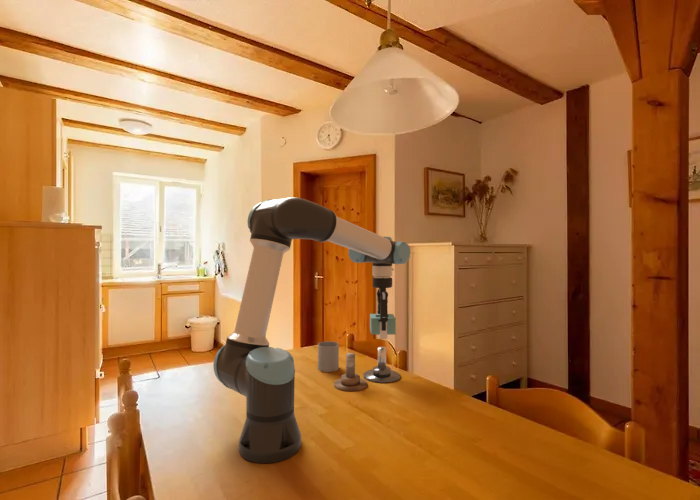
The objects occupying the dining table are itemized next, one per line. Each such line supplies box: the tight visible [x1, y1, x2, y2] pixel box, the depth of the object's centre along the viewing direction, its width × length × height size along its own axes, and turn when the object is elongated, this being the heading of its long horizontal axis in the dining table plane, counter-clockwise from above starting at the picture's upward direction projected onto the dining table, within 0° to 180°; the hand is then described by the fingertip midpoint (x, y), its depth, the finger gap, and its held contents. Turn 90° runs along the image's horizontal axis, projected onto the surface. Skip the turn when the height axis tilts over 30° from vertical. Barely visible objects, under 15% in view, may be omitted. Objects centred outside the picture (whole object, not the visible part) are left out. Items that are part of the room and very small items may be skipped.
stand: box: [333, 352, 368, 392], centre depth 137 cm, size 12×12×11 cm
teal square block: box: [369, 313, 397, 336], centre depth 146 cm, size 9×9×6 cm
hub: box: [363, 346, 401, 384], centre depth 146 cm, size 14×14×11 cm
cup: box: [317, 341, 340, 373], centre depth 155 cm, size 8×8×10 cm
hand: (382, 335), depth 146 cm, fingers closed on teal square block, 9 cm apart
